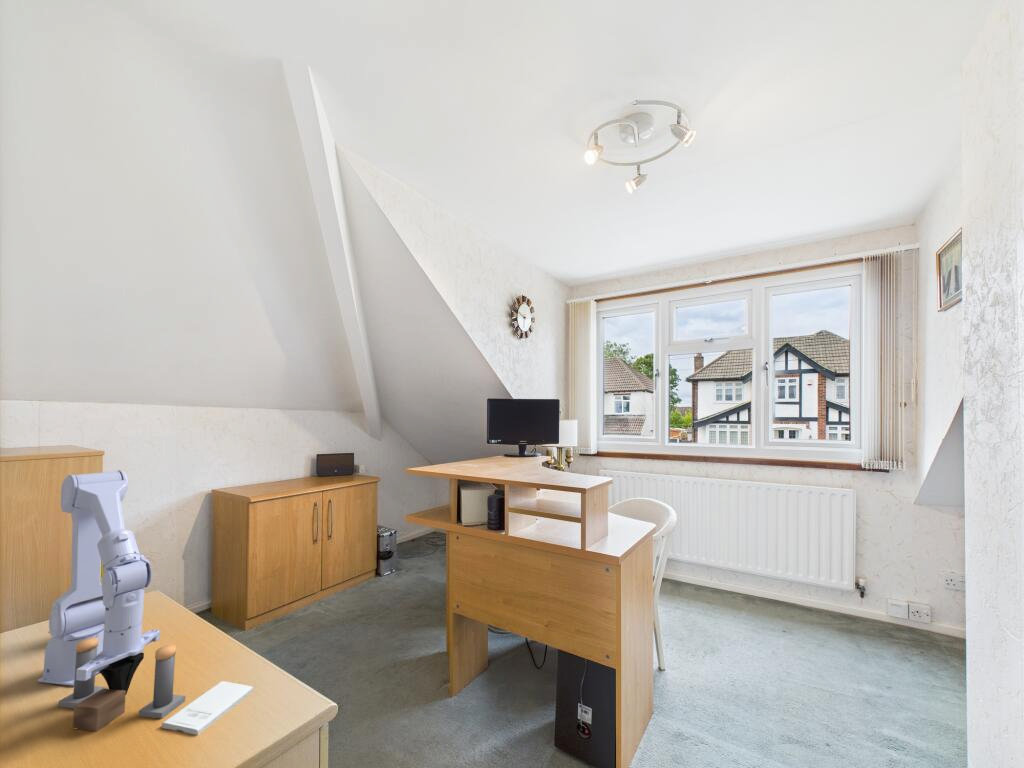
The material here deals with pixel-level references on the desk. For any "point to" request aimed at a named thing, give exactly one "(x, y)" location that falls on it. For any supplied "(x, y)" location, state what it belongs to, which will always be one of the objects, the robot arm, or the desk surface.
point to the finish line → (162, 680)
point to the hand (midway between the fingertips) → (118, 696)
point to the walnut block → (99, 709)
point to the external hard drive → (208, 708)
